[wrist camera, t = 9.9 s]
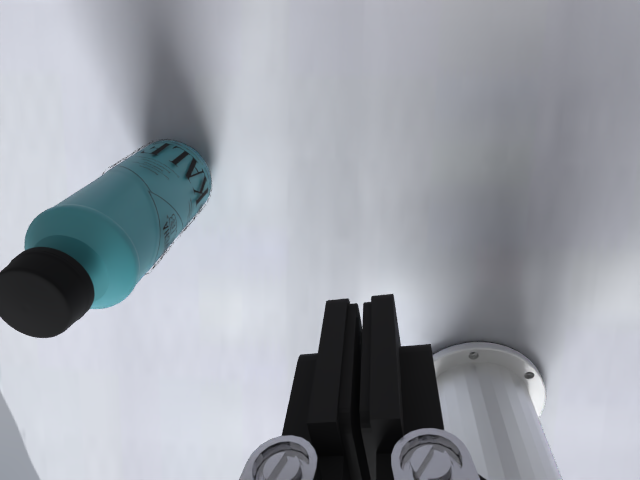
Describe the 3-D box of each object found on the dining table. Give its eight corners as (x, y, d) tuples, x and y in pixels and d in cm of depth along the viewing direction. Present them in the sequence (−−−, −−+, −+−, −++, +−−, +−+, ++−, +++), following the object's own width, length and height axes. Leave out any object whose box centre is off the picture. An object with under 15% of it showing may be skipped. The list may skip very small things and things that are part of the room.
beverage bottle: (146, 203, 42) (-25, 357, 24) (139, 125, 39) (-62, 236, 21) (221, 212, 41) (104, 375, 23) (220, 134, 38) (86, 254, 20)
